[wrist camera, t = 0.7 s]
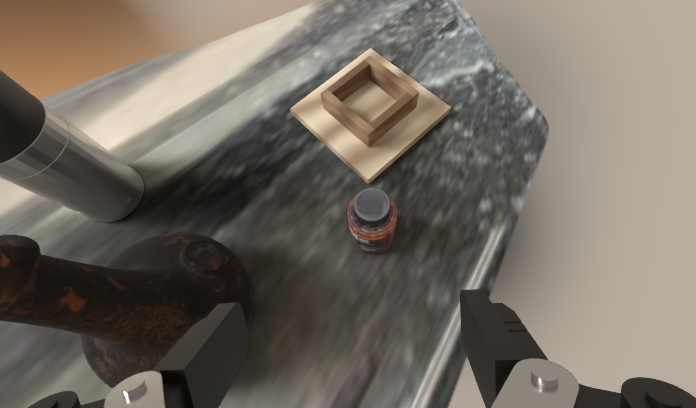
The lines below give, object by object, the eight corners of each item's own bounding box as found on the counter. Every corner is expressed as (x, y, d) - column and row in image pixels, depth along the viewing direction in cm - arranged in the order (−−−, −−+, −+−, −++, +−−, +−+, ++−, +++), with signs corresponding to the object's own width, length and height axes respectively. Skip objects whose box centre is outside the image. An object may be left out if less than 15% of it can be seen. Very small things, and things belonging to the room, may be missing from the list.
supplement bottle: (389, 211, 48) (394, 174, 38) (398, 251, 46) (406, 224, 35) (347, 218, 48) (341, 183, 38) (354, 259, 46) (350, 234, 35)
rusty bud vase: (293, 314, 44) (182, 270, 18) (179, 426, 40) (-179, 582, 14) (214, 223, 49) (42, 90, 23) (107, 314, 45) (-245, 273, 19)
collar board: (292, 114, 56) (285, 93, 51) (370, 54, 60) (370, 30, 55) (368, 184, 50) (367, 168, 45) (449, 113, 54) (456, 91, 49)
